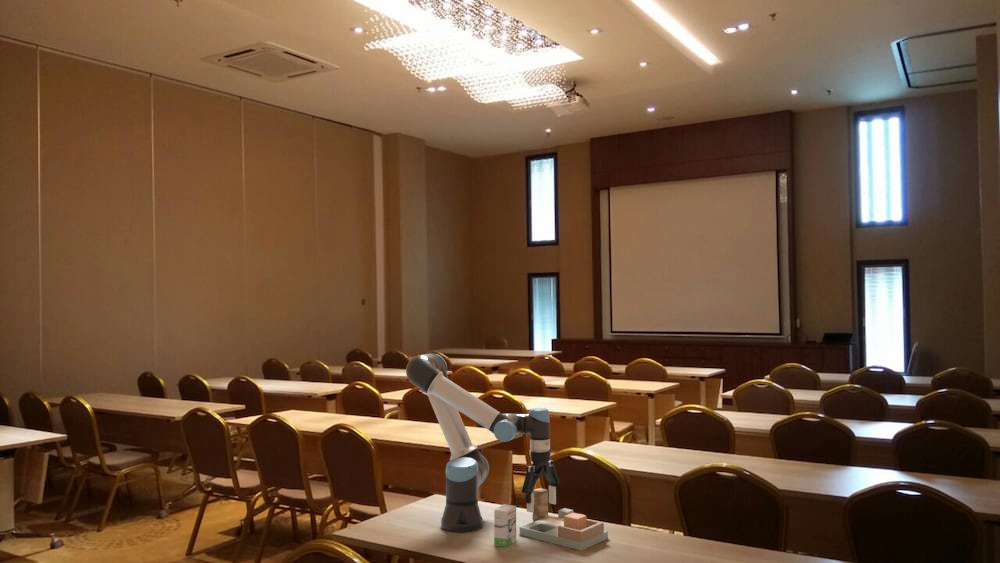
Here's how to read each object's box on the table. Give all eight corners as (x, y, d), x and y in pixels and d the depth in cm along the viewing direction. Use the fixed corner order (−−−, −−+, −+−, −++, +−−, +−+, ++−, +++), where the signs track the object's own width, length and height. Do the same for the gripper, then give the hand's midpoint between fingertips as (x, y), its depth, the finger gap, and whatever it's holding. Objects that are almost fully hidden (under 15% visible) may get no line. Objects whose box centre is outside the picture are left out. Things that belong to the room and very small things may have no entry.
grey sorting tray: (519, 534, 253) (519, 517, 253) (547, 523, 265) (547, 507, 265) (581, 550, 236) (581, 532, 236) (608, 538, 248) (607, 520, 248)
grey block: (558, 521, 268) (558, 510, 268) (564, 518, 271) (564, 508, 271) (567, 523, 266) (567, 512, 266) (573, 520, 269) (573, 510, 269)
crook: (530, 519, 270) (530, 489, 271) (545, 513, 277) (545, 485, 278) (569, 528, 259) (569, 497, 259) (584, 522, 266) (584, 492, 266)
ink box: (507, 547, 239) (507, 511, 239) (493, 545, 241) (493, 510, 241) (516, 540, 247) (516, 505, 247) (503, 538, 249) (503, 503, 249)
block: (563, 532, 247) (563, 516, 247) (573, 528, 251) (573, 512, 251) (577, 535, 243) (577, 519, 243) (586, 531, 247) (586, 515, 247)
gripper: (527, 457, 259) (528, 517, 258) (567, 446, 278) (569, 502, 277) (511, 454, 264) (512, 513, 263) (552, 443, 283) (553, 498, 282)
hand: (541, 507), depth 270 cm, fingers open, 13 cm apart
